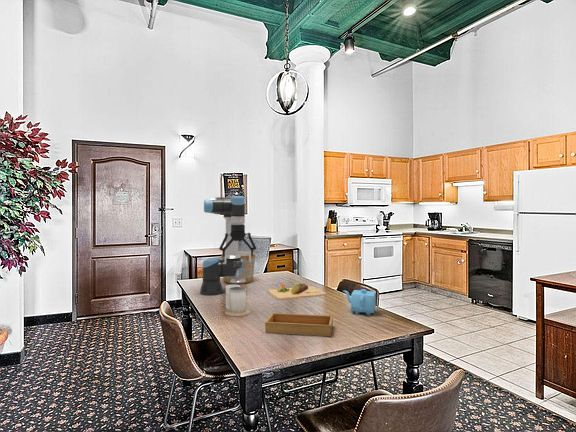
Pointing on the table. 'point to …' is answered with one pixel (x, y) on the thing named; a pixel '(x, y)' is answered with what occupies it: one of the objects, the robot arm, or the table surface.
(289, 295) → the cutting board
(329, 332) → the tray
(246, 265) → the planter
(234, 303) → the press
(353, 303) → the teapot
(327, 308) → the table surface
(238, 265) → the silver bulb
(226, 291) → the mug
